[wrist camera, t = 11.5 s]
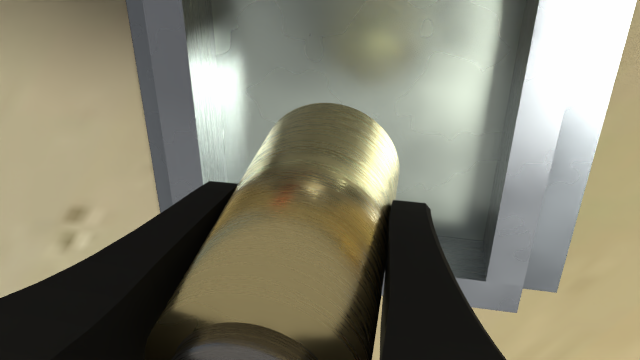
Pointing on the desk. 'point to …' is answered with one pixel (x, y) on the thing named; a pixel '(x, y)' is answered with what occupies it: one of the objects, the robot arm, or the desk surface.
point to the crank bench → (401, 108)
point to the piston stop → (292, 249)
